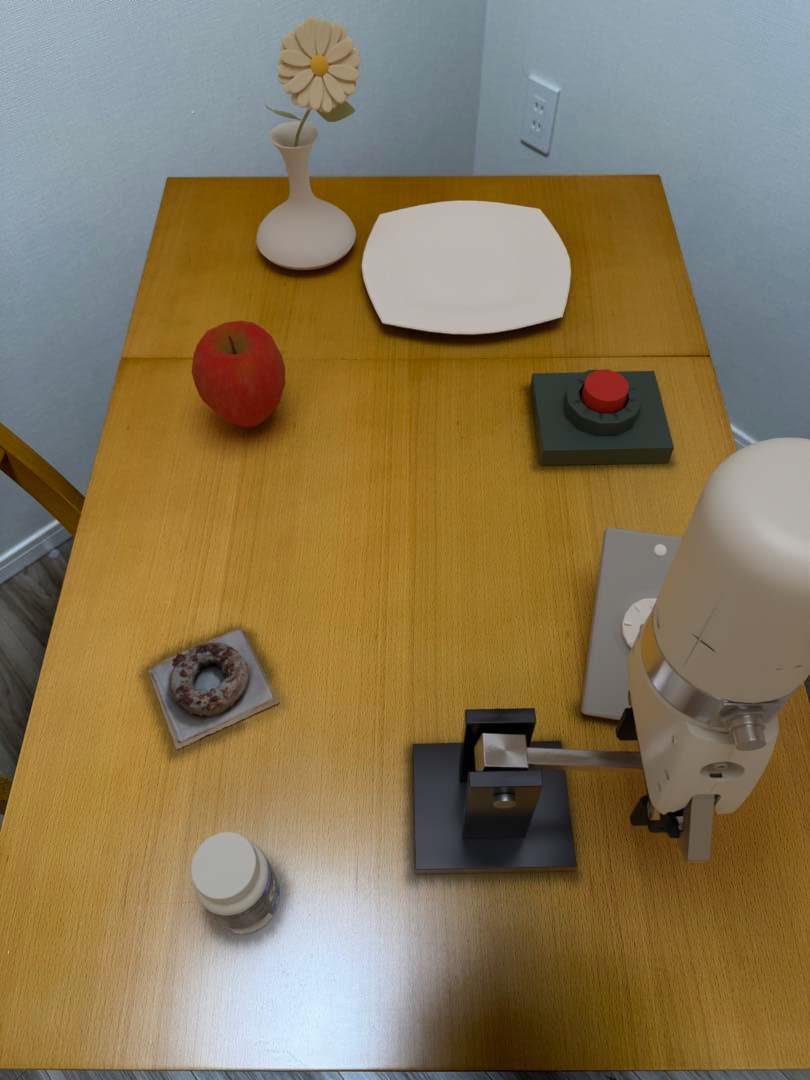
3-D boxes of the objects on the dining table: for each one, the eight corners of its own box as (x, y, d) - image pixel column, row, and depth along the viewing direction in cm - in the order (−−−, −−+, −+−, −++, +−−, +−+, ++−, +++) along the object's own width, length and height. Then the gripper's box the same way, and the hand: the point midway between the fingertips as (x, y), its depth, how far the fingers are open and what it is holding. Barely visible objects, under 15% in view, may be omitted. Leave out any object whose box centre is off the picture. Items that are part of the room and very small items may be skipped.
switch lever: (649, 733, 57) (663, 719, 55) (663, 808, 54) (679, 795, 52) (472, 726, 56) (480, 711, 54) (477, 802, 53) (485, 789, 51)
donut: (244, 625, 71) (239, 613, 69) (278, 704, 67) (275, 692, 65) (146, 667, 69) (139, 655, 67) (176, 750, 65) (169, 740, 63)
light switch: (582, 715, 64) (607, 524, 65) (575, 709, 70) (598, 534, 71) (699, 734, 63) (722, 540, 64) (681, 726, 69) (703, 548, 70)
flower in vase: (252, 279, 96) (206, 47, 76) (265, 218, 103) (227, -11, 82) (367, 281, 96) (353, 47, 75) (373, 219, 102) (362, -11, 82)
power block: (649, 386, 86) (658, 356, 82) (668, 463, 80) (679, 434, 77) (529, 389, 86) (534, 359, 82) (540, 465, 80) (545, 437, 77)
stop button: (621, 382, 81) (624, 369, 80) (628, 413, 79) (632, 400, 77) (579, 383, 81) (581, 369, 80) (584, 414, 79) (587, 401, 77)
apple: (231, 379, 87) (209, 293, 78) (308, 398, 85) (295, 313, 77) (192, 439, 83) (164, 355, 74) (272, 460, 81) (254, 377, 72)
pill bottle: (292, 910, 58) (275, 880, 51) (228, 948, 57) (201, 922, 50) (263, 848, 60) (243, 811, 53) (201, 883, 59) (172, 849, 52)
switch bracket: (558, 746, 64) (583, 677, 55) (574, 871, 59) (604, 818, 49) (412, 749, 64) (411, 680, 55) (415, 874, 59) (414, 822, 50)
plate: (362, 351, 89) (361, 336, 88) (361, 217, 102) (361, 203, 101) (583, 343, 89) (586, 329, 88) (553, 211, 103) (556, 196, 101)
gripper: (853, 822, 37) (732, 912, 52) (755, 508, 47) (677, 660, 62) (680, 826, 37) (608, 915, 52) (618, 511, 47) (573, 662, 62)
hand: (646, 775), depth 57 cm, fingers closed on switch lever, 5 cm apart
